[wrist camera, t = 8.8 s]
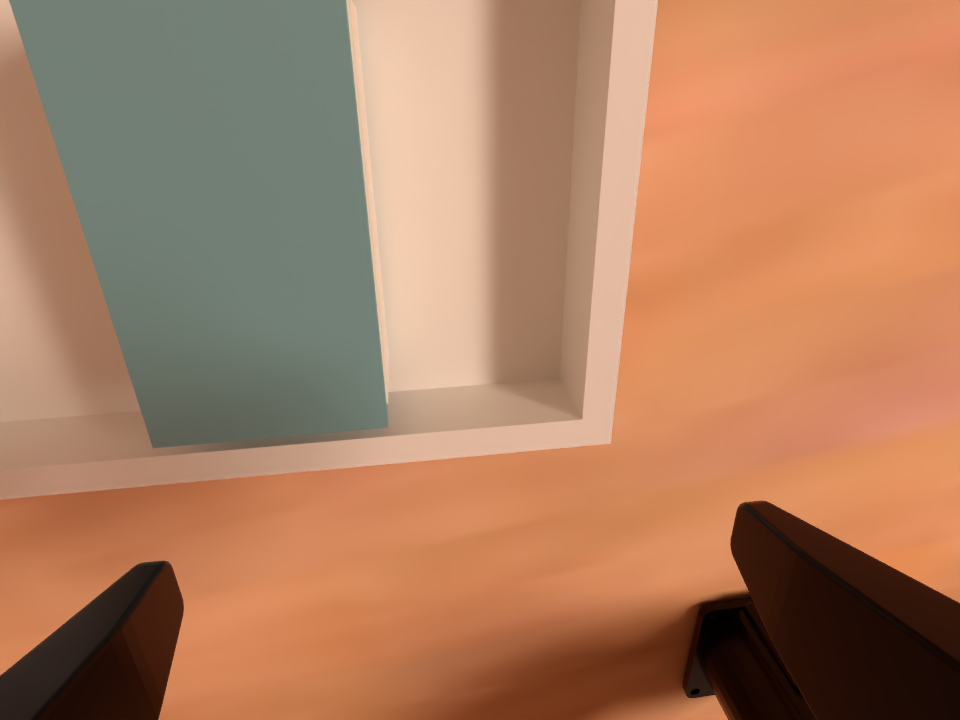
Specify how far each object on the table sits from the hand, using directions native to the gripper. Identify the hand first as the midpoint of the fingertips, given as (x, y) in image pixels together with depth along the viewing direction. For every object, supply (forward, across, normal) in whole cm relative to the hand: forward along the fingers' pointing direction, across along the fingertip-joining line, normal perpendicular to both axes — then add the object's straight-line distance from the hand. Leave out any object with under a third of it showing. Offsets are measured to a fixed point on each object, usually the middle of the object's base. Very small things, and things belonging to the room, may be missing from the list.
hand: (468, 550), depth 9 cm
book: (+10, +5, -4) cm, 12 cm away
